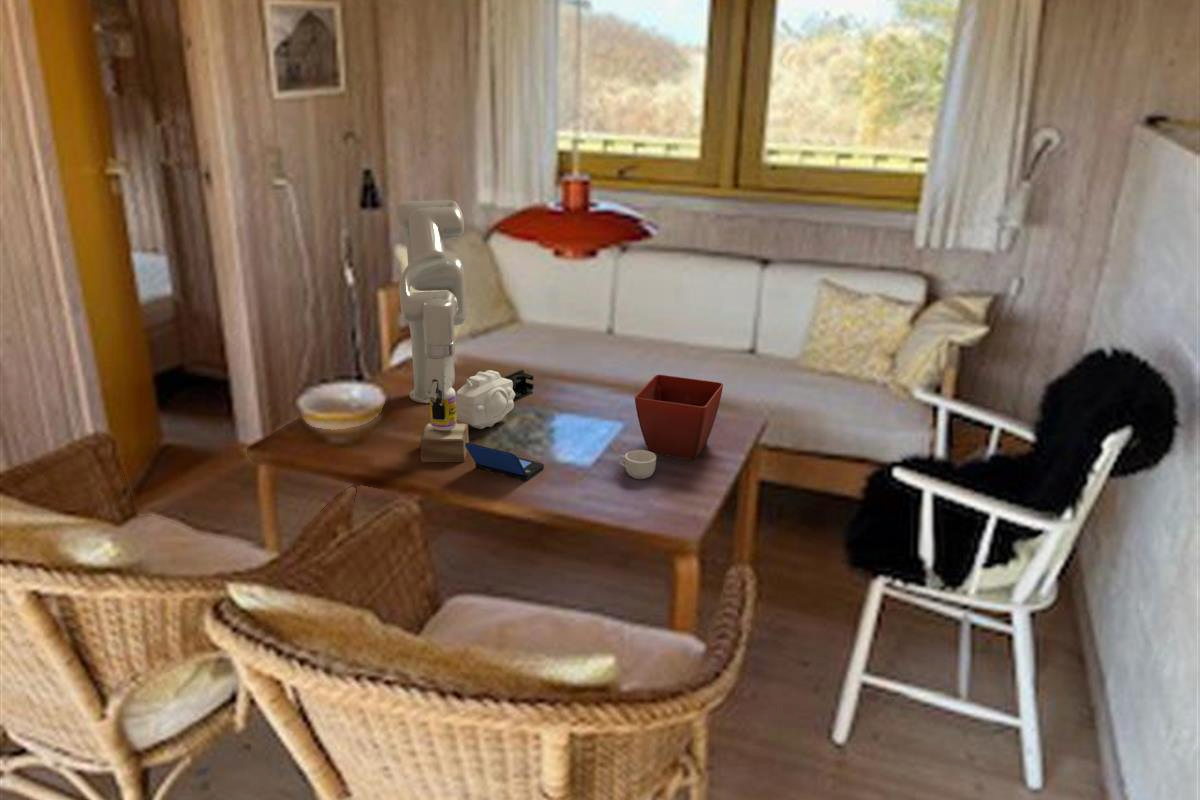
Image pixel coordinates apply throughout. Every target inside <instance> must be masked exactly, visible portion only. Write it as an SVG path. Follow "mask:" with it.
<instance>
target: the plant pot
mask: <svg viewBox="0 0 1200 800" xmlns="http://www.w3.org/2000/svg"><path fill="white" fill-rule="evenodd" d="M723 388H724V383H723V382H719V381H713V380H712V381H710V380H703V379H697V378H696V379H695V378H688V377H681V376H673V375H668V374H667V375H666V374H656V375H654V376H653V377H652V378H651V379H650V380H649V381H648V382H647V383H646V384H645V385H644V386H643V387H642V388H641V389H640V390H639V391H638V392H637V393H636V394H635V395H634V402H635V409H636V414H637V419H638V423H639V428H640V431H641V434H642V437H643V440H644V442H645V446H646V449H647V451H650V452H652V453H654V454H655V455H659V456H666V457H673V458H678V459H684V460H691V461H693V460H695V459H696V458H697V457H698V456H699V454H700V453H701V452H702V450H703V449H704V447H705V445H706V444H707V443H708V440H709V437H710V435H711V432H712V430H713V426H714V424H715V420H716V417H717V415H718V414H717V413H718V411H719V407H720V403H721V399H722V394H723Z"/></svg>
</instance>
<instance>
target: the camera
mask: <svg viewBox="0 0 1200 800" xmlns="http://www.w3.org/2000/svg"><path fill="white" fill-rule="evenodd" d="M455 394H456V417H457V421H458V422H462V423H463V424H468V425H470V426H471V427H472V428H475V429H478V430H482V429H485V428H487V427H489V428H492V427H494V425H495V424H496V423H499V422H500V421H501V420H502V419H503V418H504V417H506V415H508V413H510V412H511V411H512V410H513V409H514V407H515V404H514V401H513V399H514V397H515V392H514V391H513V382H512V381H511V380H509V379H505V378H502V376H501V374H500V372H498V371H495V370H491V369H490V370H486V371H478V372H476V374H475V375H474V376H473V375H472V376H470V377H469V378H466V384H464V385H463V386H461V387H460V388H459V389H458V390H456V391H455Z"/></svg>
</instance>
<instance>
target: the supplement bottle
mask: <svg viewBox="0 0 1200 800" xmlns="http://www.w3.org/2000/svg"><path fill="white" fill-rule="evenodd" d="M449 386H451V381H450V385H449ZM437 393H441V391H437ZM429 396H430V394H429ZM437 398H439V399H440V396H437ZM443 405H445V419H444V420H438V419H433V416H432V405H431V399H430V403H429V412H430V414H429V415H430V424H431V426H432V428H434V429H436V430H450V429H453V428H454V427H455V426H456V425H457V424H458V420H457V417H456V391H455V389H454V387H453V388H451V387H450V388H449V390H448V392H447V393H446V394H444V400H443Z"/></svg>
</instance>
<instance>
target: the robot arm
mask: <svg viewBox="0 0 1200 800" xmlns="http://www.w3.org/2000/svg"><path fill="white" fill-rule="evenodd" d="M395 219H396V222H397V224H398V227H399V230H400V232H401V233H402V236H403V239H404V241H405V244H406V252H407V253H406V255H407V266H406V267H405V269H404V270H403V272H402V273H401V277H400V280H399V283H398V292H399V303H400V310H401V315H402V317H403V319H404V320H405V321H406V322H408V327H409V332H410V342H411V343H410V344H411V357H412V371H413V385H414V386H413V387H414V388H413V389H412V390H411V391H410V392H409V398H410V399H411V400H412V401H413V402H415V403H419V404H420V403H421V404H430V399H431V405H432V416H433V419H438V420H444V419H445V405H443V400H444V394H446V393H447V392H448V390H449V388H450V387H451V388H453V389H454V387H453V386H454V384H455V382H456V381H455V380H456V377H455V376H456V374H455V371H456V370H455V359H454V356H455V355H456V343H455V342H456V341H455V340H456V339H455V326H459V325H460V326H461V325H463V324H464V323H465V322H466V320H467V295H466V292H467V291H466V277H465V275H466V274H465V269H464V265H463V262H462V261H461V260H460V259H459V258H457V257H456V256H446V251H445V244H444V243H445V242H444V239H445V240H446V239H448V240H449V239H460V238H462V236H463V235H464V232H465V219H464V215H463V213H462V210H461V208H460V206H459V205H458V203H457V202H456V201H455V200H452V199H451V200H450V199H442V200H441V199H440V200H438V199H436V200H408V201H404V202H400V203H398V205H396V207H395ZM411 288H412V289H413V290H415V291H416V292H411ZM417 291H419V292H417ZM450 381H451V386H449V385H450ZM437 391H441V393H437ZM429 394H430V396H429ZM437 396H440V399H439V398H437Z"/></svg>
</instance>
